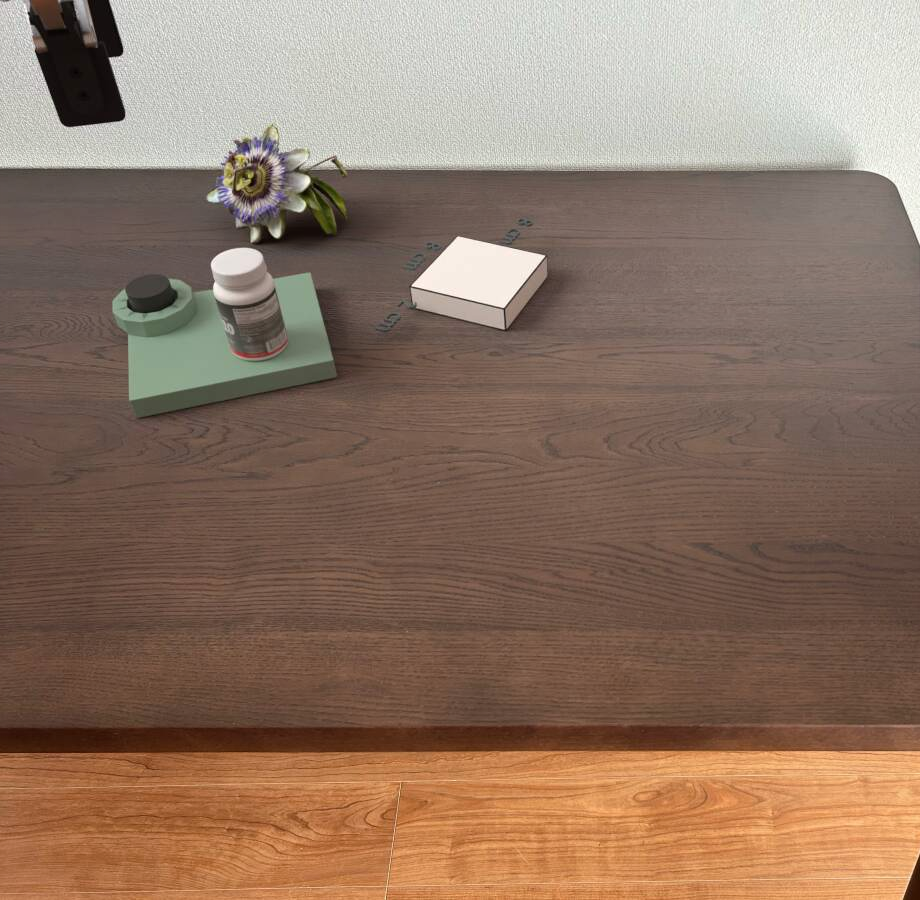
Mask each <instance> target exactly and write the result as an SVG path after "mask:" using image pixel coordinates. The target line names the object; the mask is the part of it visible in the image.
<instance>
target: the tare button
mask: <svg viewBox="0 0 920 900" xmlns="http://www.w3.org/2000/svg"><path fill="white" fill-rule="evenodd" d="M169 279H170V278H168V277H167V276H165V275H162V274H157V273H150V274H143V275H140V276H138V277H136V278H134V279H131V281H129V282H128V283H127V284H126V286H125V288H124V289H125V292H126V294H127V297H128V299H129V302H130V304H131V307H132V309H133V310H134V311H135V312H137V313H144V314H147V313H152V312H158V311H161V310H163V309H165V308H167V307H169V306H172V304H173V303H174V302H175V295H174V292H173V290H172V287H171V284H170V281H169Z"/></svg>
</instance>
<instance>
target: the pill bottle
mask: <svg viewBox="0 0 920 900" xmlns="http://www.w3.org/2000/svg"><path fill="white" fill-rule="evenodd" d="M267 267H268V266H267V264H266V262H265V257H264V255H263V254H262V252H261V251H259V250H257V249H255V248H250V247H236V248H231V249H227V250H224V251H223V252H222V251H221V252H220V253H219V254H217V255H216V256H215V257H214V258H213V259H212V260H211V263H210V268H211V272H212V276H213V279H214V283H213V286H212V290H213V292H214V297H215V300H216V303H217V306H218V310H219V313H220V316H221V319H222V322H223V326H224V329H225V332H226V335H227V339H228V342H229V345H230V348H231V351H232V352H233V354H234V355H235V356H237V357H238V358H240V359H243V360H247V361H260V360H266V359H270V358H272V357H275V356H276V355H278V354H280V353H281V352H282V351H283V350H284V349H285V348H286V346H287V344H288V334H287V331H286V327H285V323H284V319H283V315H282V311H281V307H280V304H279V299H278V295H277V292H276V287H275V283H274V280H273V279H274V277H273V276H272V275H271V274H270V273H269V271H268V268H267Z"/></svg>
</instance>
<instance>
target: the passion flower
mask: <svg viewBox="0 0 920 900" xmlns="http://www.w3.org/2000/svg"><path fill="white" fill-rule="evenodd" d="M279 134H280V133H279V129H278V128H277V127H276V126H274V123H271V124H270V125H268V126H266V128H265V129H264V131H263V134H262V135H261V136H259V137H257V136H253V138H250V137H248V136H244V137H242V139H241V141H242V142H241V141H240V140H239V139H233V143H234V144H235V147H236V149H235V151H234V152H233V151H231V150H229V151H228V156H225V155H224V156H223V158H224V159H225V160H224V162H220V163H219V164H220V165H221V166H223V175H221V176H217V177H216V181H215V188H213V189H212V190H210V191H209V192H208V193H207V194H206V195H205V200H206V201H207V202H209V203H211V204H223V205H224V207H225V209H226V210H227V211H228V213H229V214H231V215H234V223H235V224H234V225H235V228H236V230H241V229H246V228H249V239H250V244H258V243H259V242H261V241H262V239H263V238H264V237H265V236H266V235H265V234H266V231H265V230H266V228H267V229H268V232H269V234H270V235H271V236H272V237H273V238H274V239H276V240H280V239H281V238H282V237H283V236H285V233H286V231H287V230H286V229H287V225H286V224H287V221H286V214H287V212H292V213H297V214H303V213H304V212H305V211H306V210H307V207H308V208H309V211H310V212H311V214H312V216H313V217H314V219H315V220H316V222H317V223H318V225H319V226H320V228H321V230H323V232H324V233H325V234H327V235H332V236H336V235H338V234H337V233H338V229H337V221H336V215H335V213H334V210H333V208H332V205H334V207H335V209H337V211H339V213H340V214H341V215H342V217H343V219H344V221H345V222H347V221H348V217H347V204H346V203H345V200H344V198H343V196H342V195H341V194H340V192H339V191H338V190H336V189H335V188H334V187H333V186H331V185H330V184H328V183H327V182H324V181H323V180H321V179H320V178H319V177H318V176H317V175H314V174H310V172H309V171H310V170H311V169H313V168H316V167H318V166H319V165H321V164H324V163H325V162H328V161H330V162H331V163H333V164H334V165H335V166H336V168H338V170H339V172H340V174H341V177H342V179H344V178H347V177H348V172H347V169H345V167H344V166H343V164H342V163H341V162H340V160H339V159H338V156H337V155H336V154H335V155H332V156H329V157H328V158H326V159H324V160H322V161H321V160H320V161H319V162H317V163H315V164H314V165H312V166H310V167H309V168H306V169H305V170H301V171H300V168H301V167H302V166H303V165H304V164H305V163H306V162H307V161H309V159H310V157H311V151H310V148H308V147H302V148H295V149H292V150H289V151H284V152H283V151H280V147H279V146H280V135H279ZM279 151H280V152H279ZM323 196H325V197H326V198H327V199H328V201H329V202H330V203H331V204H332V205H331V204H330V203H329V202H327V201H326V199H325V198H324V197H323Z"/></svg>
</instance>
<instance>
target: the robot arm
mask: <svg viewBox="0 0 920 900" xmlns="http://www.w3.org/2000/svg"><path fill="white" fill-rule="evenodd" d="M10 1H11V0H0V2H2V3H5V2H10ZM22 2H23V6H24V10H25V15H26V19H27V23H28V26H29V31H30V35H31V39H32V41H33V45H34V54H35V57H36V60H37V63H38V65H39V67H40V70H41V72H42V75H43V78H44V82H45V83H46V87H47V90H48V92H49V95H50V99H51V100H52V103H53V106H54V108H55V111H56V114H57V117H58V120H59V122H60V123H61V125H62V126H64V127H66V128H74V127H75V128H76V127H84V126H93V125H102V124H110V123H117V122H122V121H124V120H125V119H126V108H125V104H124V102H123V98H122V96H121V92H120V89H119V86H118V82H117V80H116V76H115V73H114V70H113V67H112V63H111V60H110V58H118V57H119V58H120V57H122V56H123V54H124V45H123V44H124V43H123V41H122V37H121V35H120V31H119V28H118V25H117V21H116V18H115V14H114V11H113V9H112V5H111V1H110V0H22Z"/></svg>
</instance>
